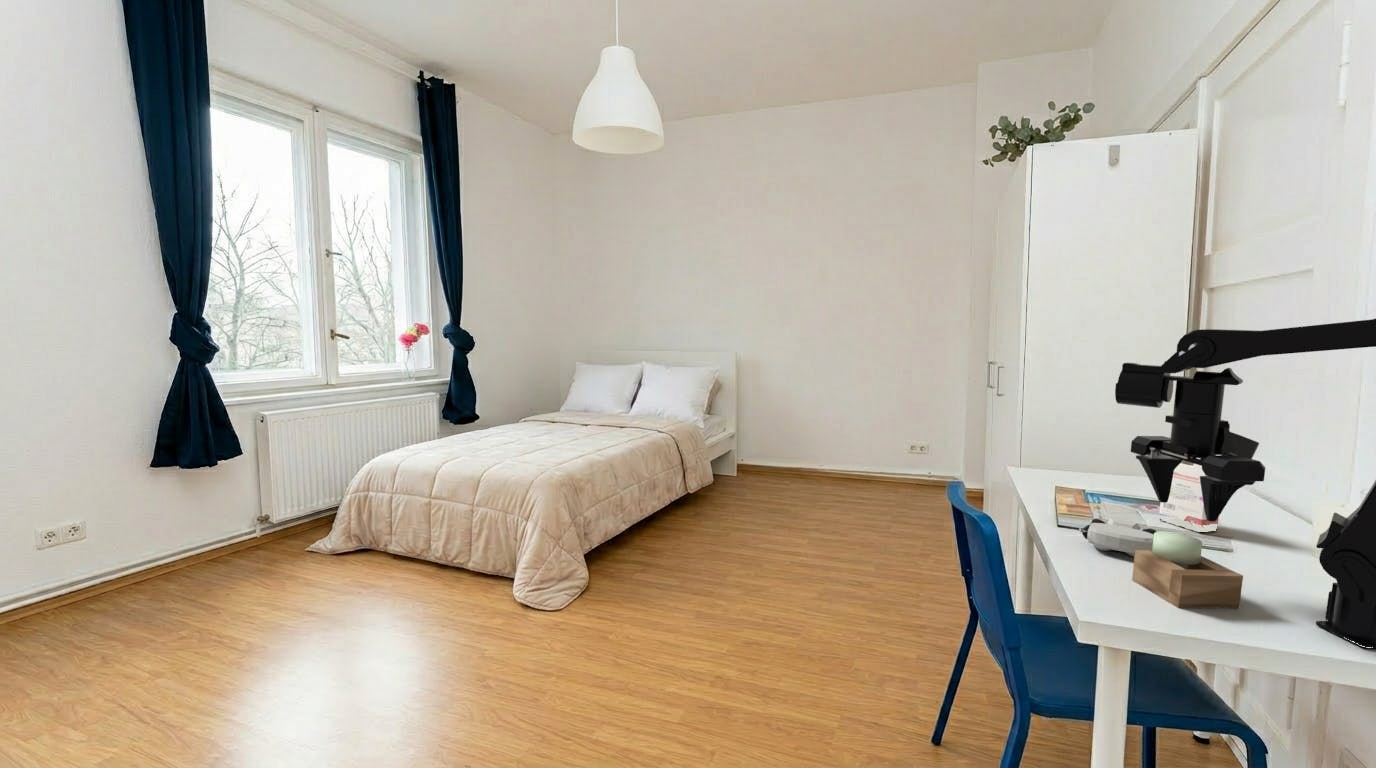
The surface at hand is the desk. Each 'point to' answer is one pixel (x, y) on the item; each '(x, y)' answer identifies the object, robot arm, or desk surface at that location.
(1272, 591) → the desk surface
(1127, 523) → the robot toy
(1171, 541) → the peg
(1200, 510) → the ink cartridge box
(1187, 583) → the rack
